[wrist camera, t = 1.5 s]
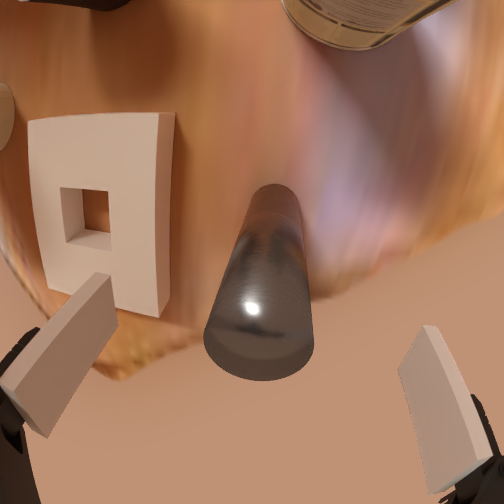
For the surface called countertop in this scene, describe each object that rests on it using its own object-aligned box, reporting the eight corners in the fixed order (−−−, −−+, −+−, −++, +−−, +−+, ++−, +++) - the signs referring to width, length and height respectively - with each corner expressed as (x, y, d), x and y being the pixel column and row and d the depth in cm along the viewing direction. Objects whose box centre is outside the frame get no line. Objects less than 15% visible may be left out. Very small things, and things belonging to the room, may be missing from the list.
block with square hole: (51, 116, 22) (27, 121, 19) (175, 112, 22) (159, 113, 19) (65, 272, 31) (48, 288, 27) (170, 297, 30) (158, 317, 27)
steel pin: (253, 180, 24) (205, 292, 10) (302, 188, 24) (327, 311, 9) (247, 225, 26) (202, 371, 11) (294, 233, 26) (299, 386, 11)
